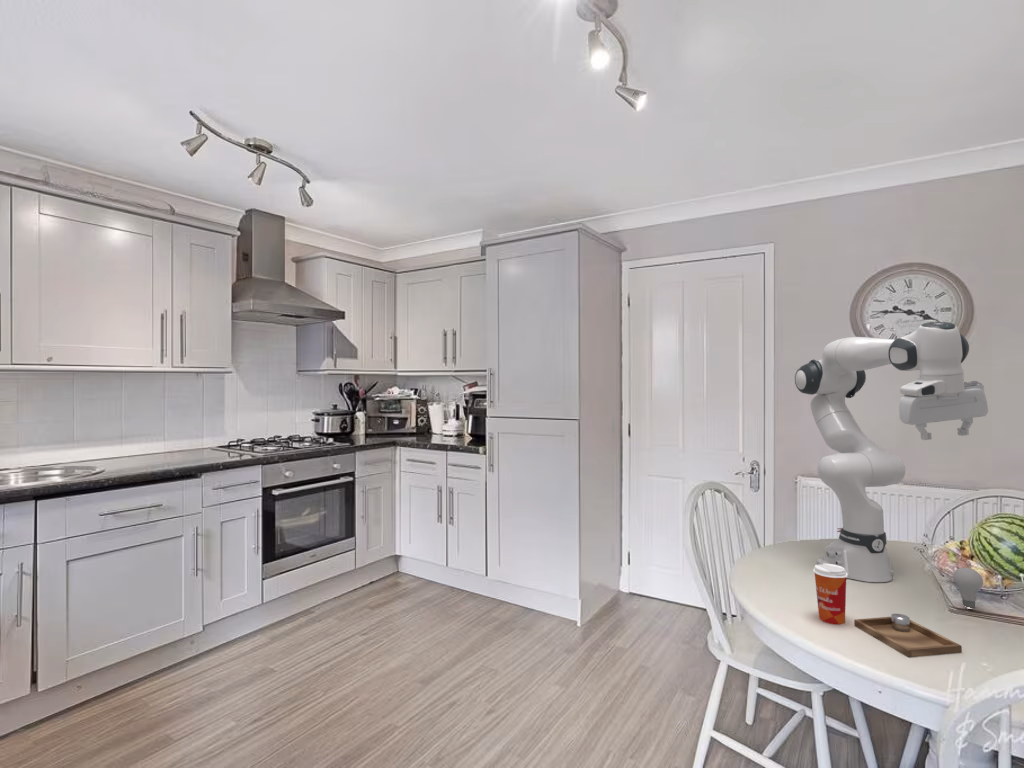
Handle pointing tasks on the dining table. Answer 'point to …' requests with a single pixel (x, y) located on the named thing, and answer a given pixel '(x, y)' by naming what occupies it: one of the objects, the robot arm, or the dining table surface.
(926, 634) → the tray
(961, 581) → the lightbulb
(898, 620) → the part
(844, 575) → the paper cup
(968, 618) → the dining table surface
